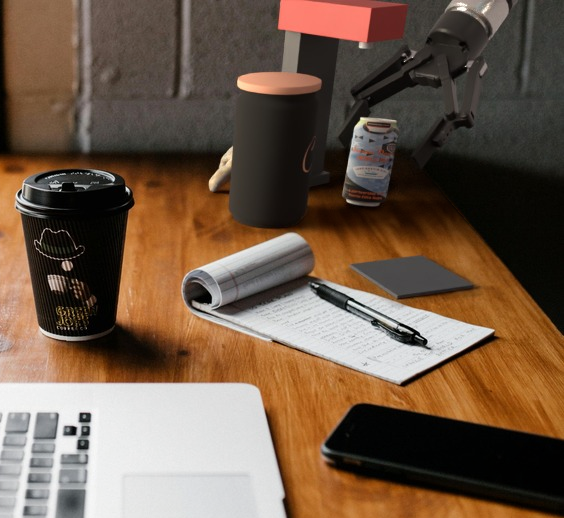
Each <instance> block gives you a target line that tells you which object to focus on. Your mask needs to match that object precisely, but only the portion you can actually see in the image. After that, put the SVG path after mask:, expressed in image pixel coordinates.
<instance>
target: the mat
mask: <svg viewBox="0 0 564 518" xmlns="http://www.w3.org/2000/svg"><path fill="white" fill-rule="evenodd" d="M348 267H349V268H350V269H352V270H353V271H354V272H355V273H357V274H359V275H361V276H362V277H364V278H365V279H367V280H368V281H369V282H370V283H372V284H374V285H376V286H377V287H378V288H380V289H381V290H383V291H385V292H386V293H388V294H389V295H391V296H392V297H394V298H395V299H396V300H400V299H406V298H412V297H418V296H419V297H420V296H425V295H434V294H441V293H446V292H447V293H448V292H454V291H461V290H462V291H463V290H469V289H474V286H475V284H473V283H472V282H470V281H468V280H467V279H465V278H463V277H461V276H459V275H458V274H456V273H454V272H452V271H451V270H449V269H447V268H445V267H443V266H442V265H440V264H438V263H436V262H435V261H433V260H431V259H429V258H427V257H426V256H424V255H422V254H419V255H411V256H403V257H394V258H388V259H381V260H380V259H379V260H371V261H363V262H356V263H350V264H349V266H348Z"/></svg>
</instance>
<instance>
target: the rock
mask: <svg viewBox="0 0 564 518" xmlns="http://www.w3.org/2000/svg"><path fill="white" fill-rule="evenodd" d="M232 151H233V145H232V146H231V147H230V148H229V149H228V150H227V151H226V153H224V154H223V156H222V157H221V159H220V163H219V166H218V169H217V170H216V171H215V173H214V174H213V175H212V176H211V177H210V179H209V181H208V189H209V191H210V192H212V193H216V192H218V191H219V190H220V189H221V188H222V187H223V186H225V185H226V183H228V182H229V181H230V179H231V165H232Z"/></svg>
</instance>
